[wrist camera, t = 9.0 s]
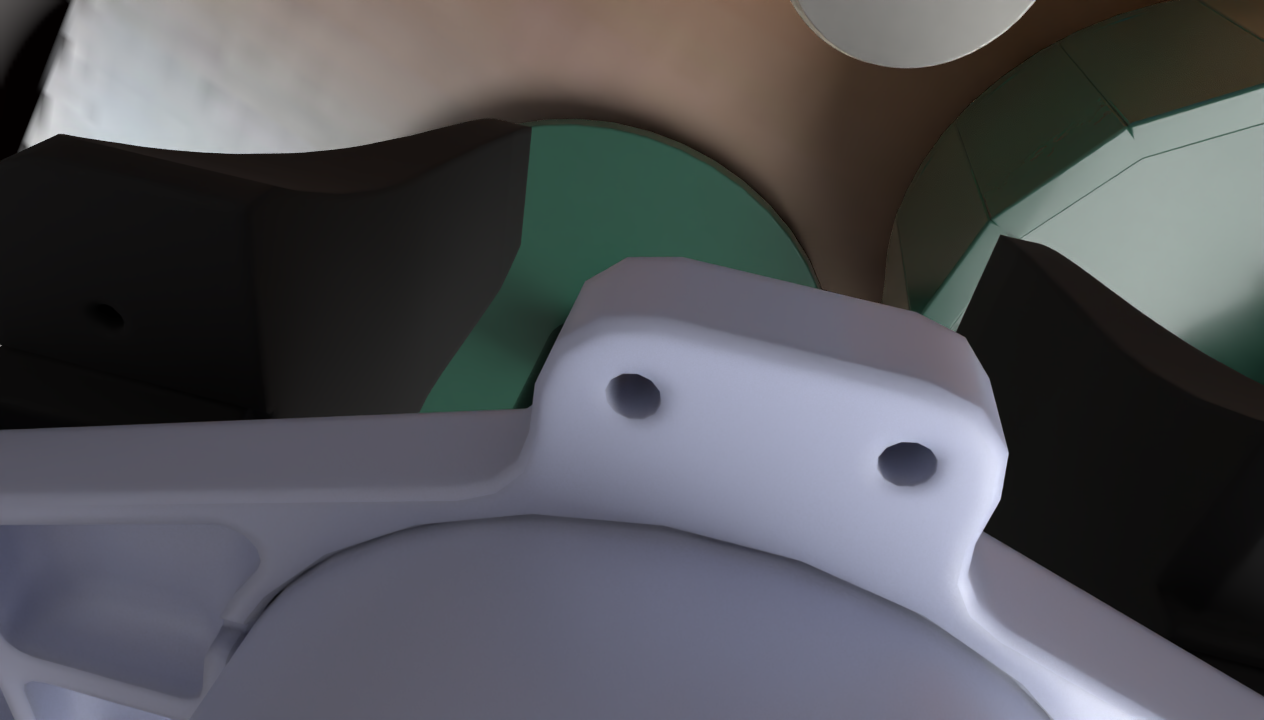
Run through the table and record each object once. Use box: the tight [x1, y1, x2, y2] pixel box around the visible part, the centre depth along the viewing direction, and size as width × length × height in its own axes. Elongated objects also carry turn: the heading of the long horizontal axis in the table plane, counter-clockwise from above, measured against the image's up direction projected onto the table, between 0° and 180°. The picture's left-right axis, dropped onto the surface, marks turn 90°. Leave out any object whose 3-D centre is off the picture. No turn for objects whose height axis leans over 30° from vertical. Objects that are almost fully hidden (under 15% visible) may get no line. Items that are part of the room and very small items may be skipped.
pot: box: [882, 0, 1264, 385], centre depth 19 cm, size 13×13×6 cm
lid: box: [419, 119, 821, 413], centre depth 24 cm, size 14×14×6 cm
